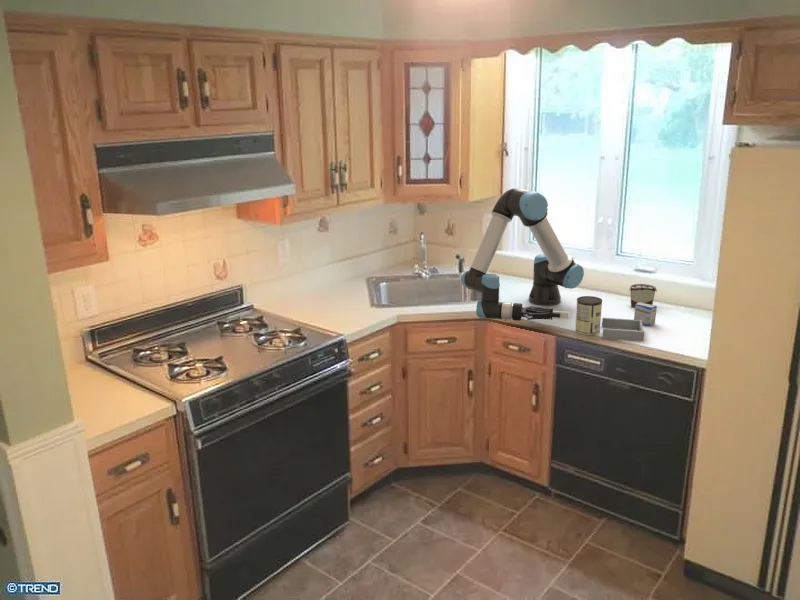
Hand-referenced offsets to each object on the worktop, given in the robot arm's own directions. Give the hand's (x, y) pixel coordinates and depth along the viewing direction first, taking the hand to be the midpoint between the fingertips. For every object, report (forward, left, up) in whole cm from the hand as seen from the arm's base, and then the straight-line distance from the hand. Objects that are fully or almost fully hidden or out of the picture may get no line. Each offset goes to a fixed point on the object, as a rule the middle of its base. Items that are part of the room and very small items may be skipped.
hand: (568, 315), depth 290 cm
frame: (+21, +6, -6) cm, 23 cm away
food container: (+20, +48, -7) cm, 53 cm away
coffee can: (+8, +2, -7) cm, 11 cm away
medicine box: (+27, +23, -7) cm, 36 cm away
